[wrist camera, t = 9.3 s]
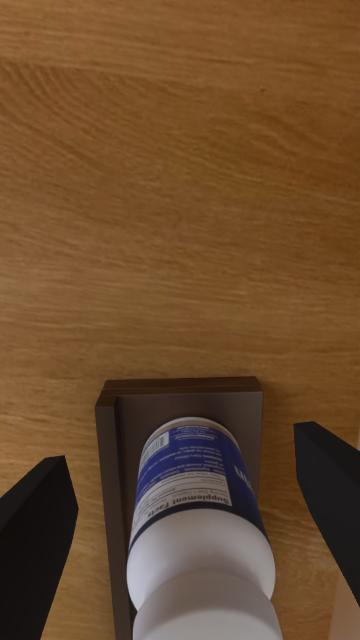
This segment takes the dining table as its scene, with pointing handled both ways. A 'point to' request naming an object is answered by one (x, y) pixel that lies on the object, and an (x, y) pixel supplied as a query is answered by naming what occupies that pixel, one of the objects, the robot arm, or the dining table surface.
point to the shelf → (134, 431)
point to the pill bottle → (198, 540)
